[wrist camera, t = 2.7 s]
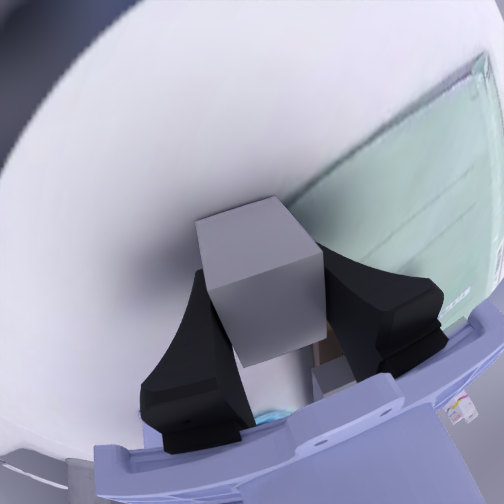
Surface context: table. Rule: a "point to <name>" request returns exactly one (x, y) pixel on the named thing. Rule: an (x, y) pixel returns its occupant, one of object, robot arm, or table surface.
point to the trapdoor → (345, 372)
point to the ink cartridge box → (460, 408)
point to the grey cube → (263, 279)
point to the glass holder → (82, 483)
